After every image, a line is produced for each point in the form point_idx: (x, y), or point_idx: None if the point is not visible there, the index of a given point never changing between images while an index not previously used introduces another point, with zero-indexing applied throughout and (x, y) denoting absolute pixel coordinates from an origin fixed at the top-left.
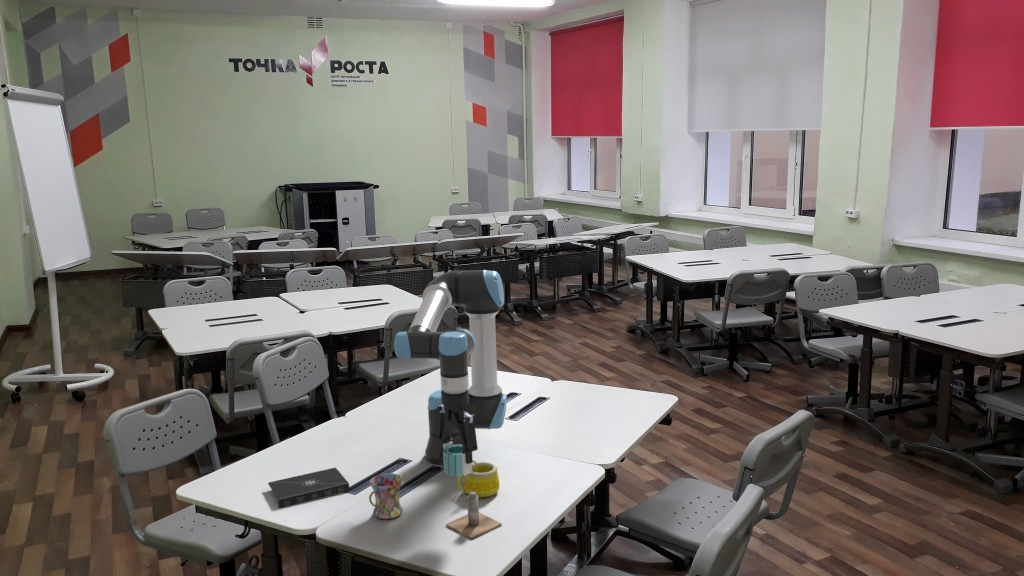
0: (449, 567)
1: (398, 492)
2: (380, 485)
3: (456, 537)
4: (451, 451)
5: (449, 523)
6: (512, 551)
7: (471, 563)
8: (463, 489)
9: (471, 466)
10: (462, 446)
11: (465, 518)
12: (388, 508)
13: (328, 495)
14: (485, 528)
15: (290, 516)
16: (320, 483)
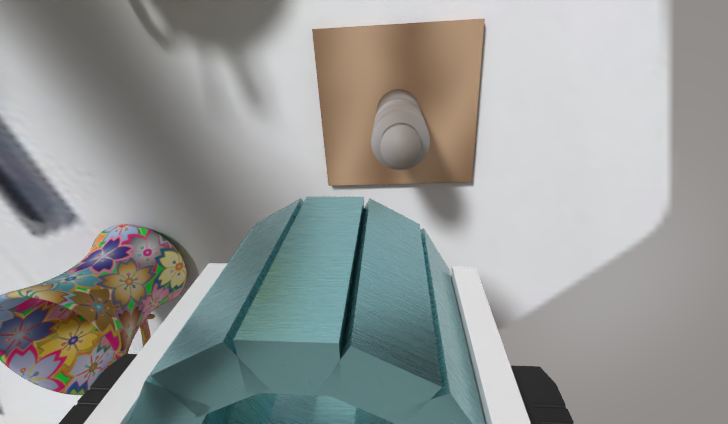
0: (532, 309)
1: (118, 289)
2: (42, 318)
3: (418, 204)
4: (219, 416)
5: (333, 175)
6: (651, 128)
7: (572, 262)
8: None
9: (487, 306)
10: (255, 391)
11: (341, 108)
12: (162, 299)
13: None
14: (462, 102)
15: (47, 404)
16: None
